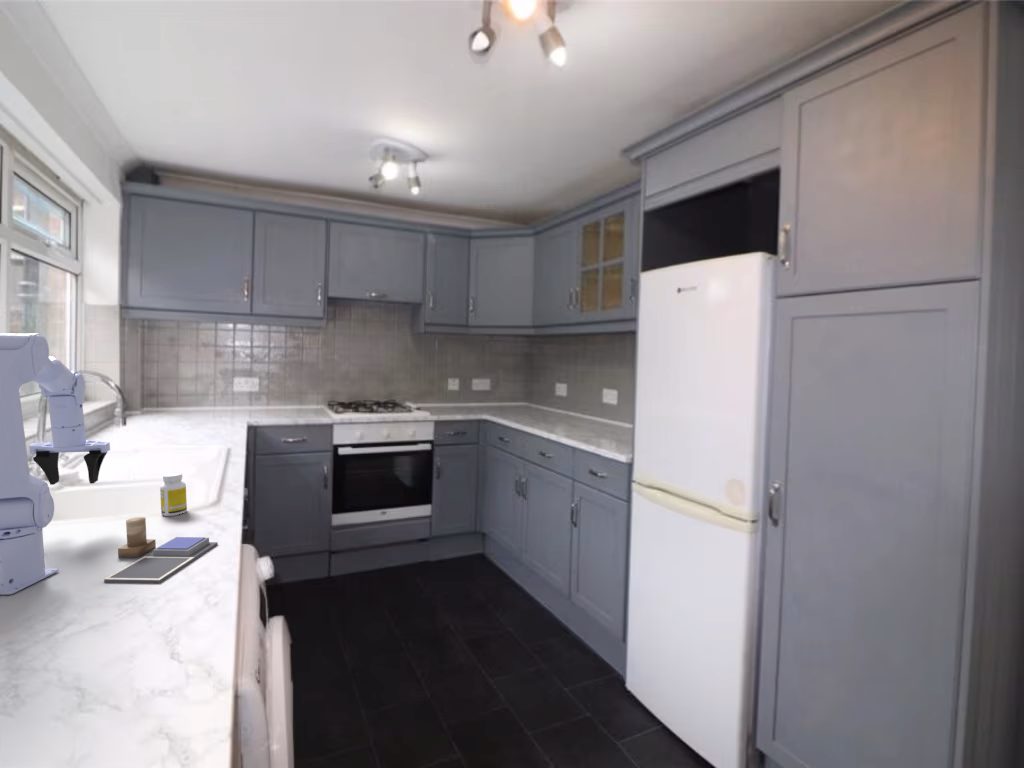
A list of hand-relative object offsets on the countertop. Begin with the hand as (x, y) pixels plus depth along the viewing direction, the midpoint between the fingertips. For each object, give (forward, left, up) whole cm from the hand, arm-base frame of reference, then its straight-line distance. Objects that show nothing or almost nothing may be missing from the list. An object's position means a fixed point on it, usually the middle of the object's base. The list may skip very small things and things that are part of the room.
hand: (74, 482), depth 121 cm
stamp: (-13, -24, -11) cm, 29 cm away
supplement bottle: (+12, -15, -11) cm, 22 cm away
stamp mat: (-17, -32, -11) cm, 38 cm away
